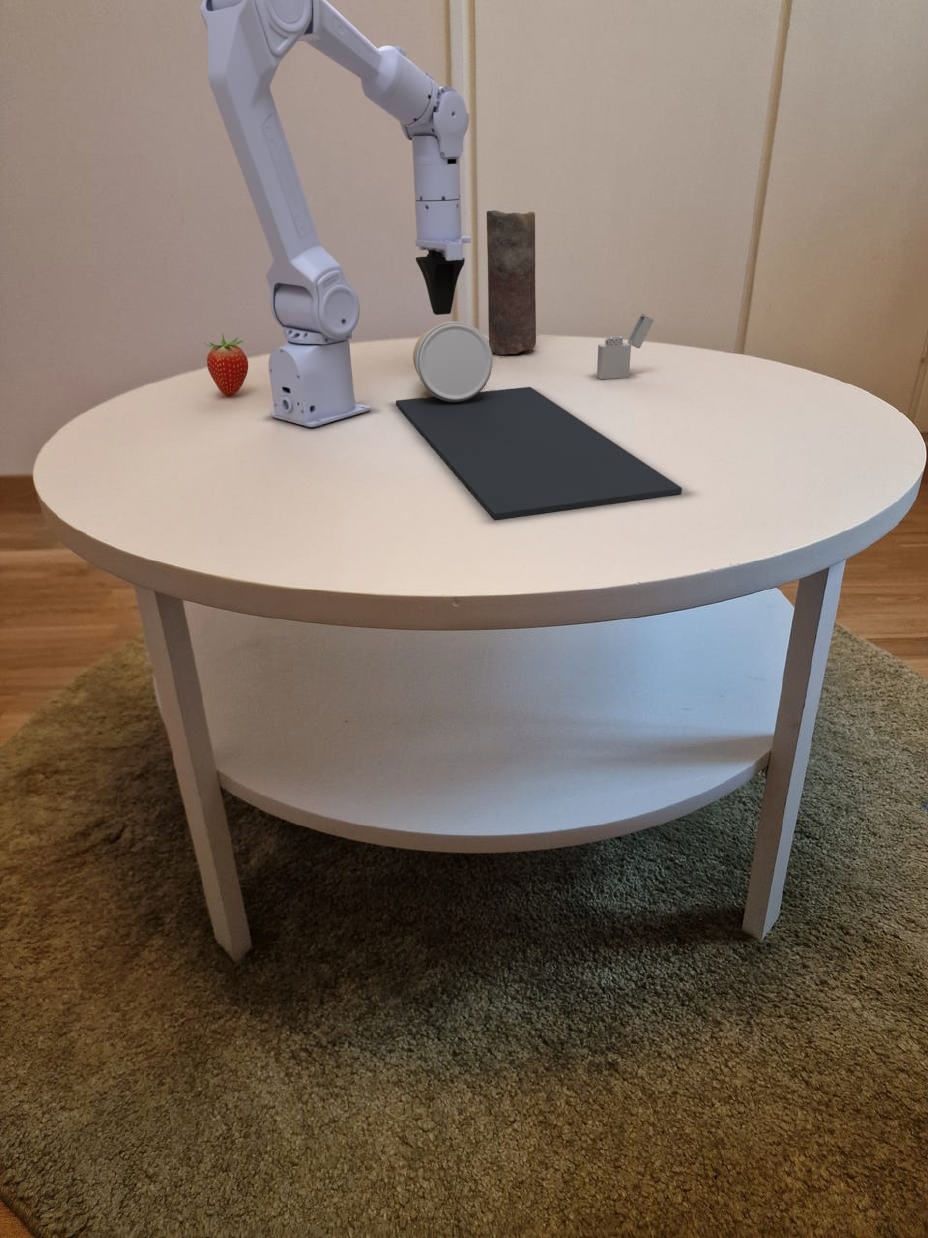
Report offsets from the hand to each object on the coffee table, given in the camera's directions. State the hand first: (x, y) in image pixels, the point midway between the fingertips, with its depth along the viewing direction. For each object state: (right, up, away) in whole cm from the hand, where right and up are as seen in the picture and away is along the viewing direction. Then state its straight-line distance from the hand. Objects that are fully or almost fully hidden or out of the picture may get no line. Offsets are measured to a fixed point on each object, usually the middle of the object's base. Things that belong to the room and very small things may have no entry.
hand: (442, 313), depth 113 cm
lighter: (+25, -7, +4) cm, 26 cm away
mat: (+9, -21, -21) cm, 31 cm away
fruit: (-28, -11, +1) cm, 30 cm away
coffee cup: (0, -6, 0) cm, 6 cm away
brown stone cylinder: (+10, +1, +20) cm, 23 cm away
